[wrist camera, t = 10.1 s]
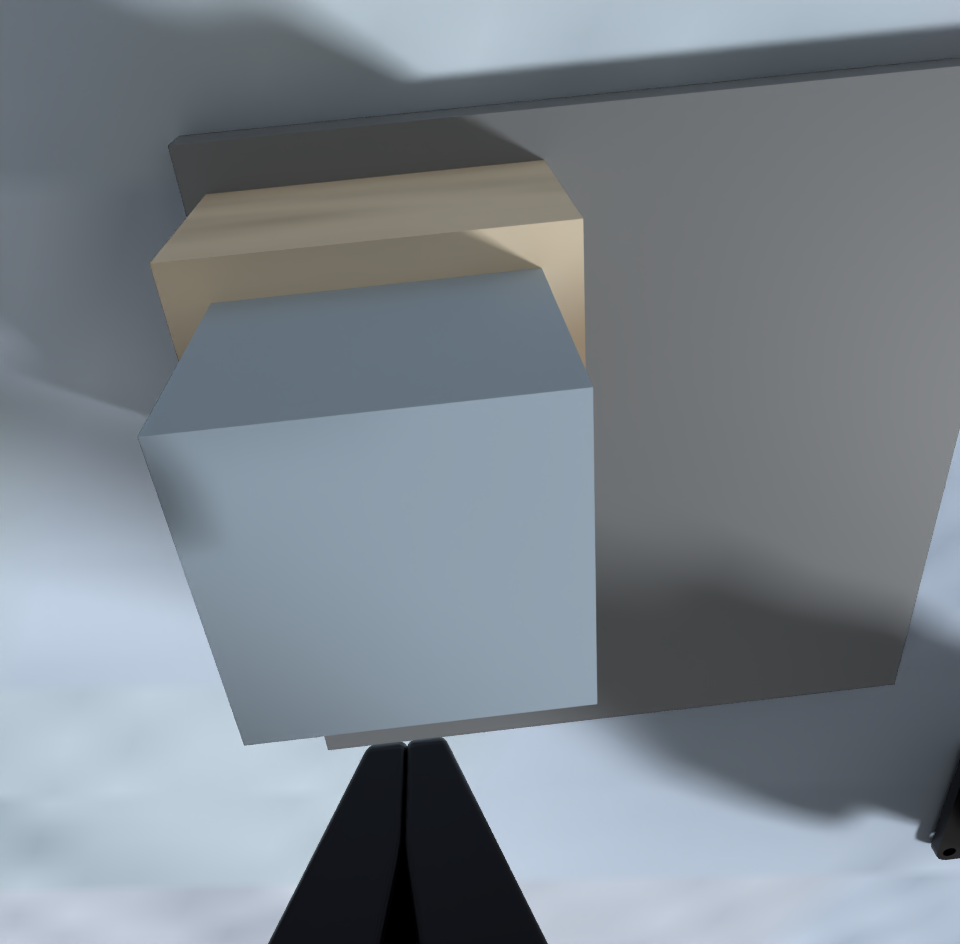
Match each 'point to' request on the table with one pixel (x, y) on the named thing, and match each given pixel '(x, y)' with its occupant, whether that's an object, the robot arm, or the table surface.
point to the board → (724, 358)
